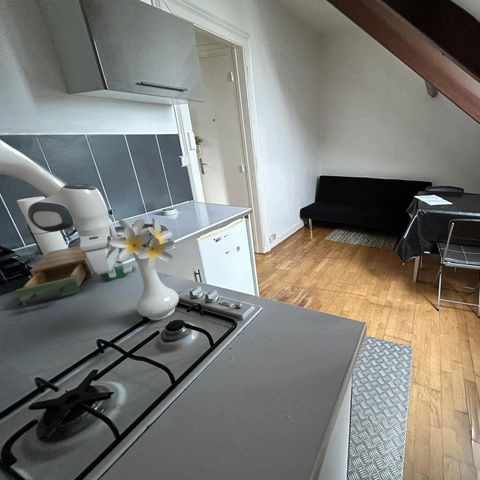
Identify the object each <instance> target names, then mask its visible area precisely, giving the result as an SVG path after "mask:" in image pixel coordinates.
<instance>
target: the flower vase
mask: <svg viewBox="0 0 480 480" xmlns="http://www.w3.org/2000/svg"><path fill="white" fill-rule="evenodd" d="M145 223H146V221H145V219H144V218H138V219H136V220H135V221H134V223H133V224H131V223H130V222H129V221H128V220H126V219H120V218H119V220H118V224H119V226H121V227H122V229H119V230H117V231H116V233H115V232H114V230H113V229H112V228H111V227H110V228H109V232H110V236H111V238H112V239H111V240H109V241H108V242H107V244H106V248H107V249H109V251H108V253H107V256H106V259H107V258H108V257H109V256H110V254H111V253H112V252H113V251H114V250H115V249H116V248H119V249H122V250H121V251H120V253H119V254H118V260H119V261H120V262H125V261H127V260H128V259H130V257H131V256H133V258H134V259H135V261H136V263H137V265H138V269H139V272H140V275H141V278H142V284H143V292H142V294H141V296H140V297H139V299H138V301H137V304H136V311H137V312H138V314H139V315H141V316H142V317H143V318H144V317H145V318H148V319H149V320H150V319H151V321H161V320H165V319H166V318H168V317H170V316H172V315H173V314H174V313H175V311H176V308H177V306H178V304H179V301H180V295H179V294H178V293H177V291H176V290H175V289H173V288H171V287H168V286H166V285H165V284H164V283H163V282H162V281H161V279H160V277H159V276H158V275H159V274H158V273H157V270H156V267H157V265H158V263H159V260H160V261H163V262H171V261H173V260H174V258H173V255H172V254H171V253H169V252H168V251H167V250H169V249H176V246H175V241H174V240H172V239H170V238H172V237H173V233H172V231H170V230H167V228H166V227H165V225H163V224H160V222H159V221H158V220H156V219H155V218H154V217H152V218H151V223H152V226H148V227H146V228H143V227H144V226H145ZM150 234H151V235H150Z"/></svg>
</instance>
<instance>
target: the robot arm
mask: <svg viewBox="0 0 480 480" xmlns="http://www.w3.org/2000/svg"><path fill="white" fill-rule="evenodd" d="M0 175H5V176H8V177H9V176H10V177H14V178H17V179H20V180H22V181H25V182H26V183H28V184H30V186H32V187H34V188H35V189H37V190H38V191H39V192H41V193H42V194H44V195H46V197H45V199H43V200H40V201H38V202H36V203H33V204H32V205H31V206H30V207H29V209H28V217H29V219H30V221H31V222H32V223H33V224H34V225H35V226H36V227H37V228H39V229H41V230H44V231H47V232H56V231H60V232H61V231H64V230H67V229H69V228H74V229H75V230H76V232H77V234H78V237H79V240H80V241H79V246H80V249H81V251H82V252H85V251H86V252H85V253H86V257H87V259H88V261H89V263H90V265H91V267H92V268H93V270H94V272H95V273H94V274H96V275H97V276H98V275H100V274H104V273H108V275H109V277H110V278H113V277H116V275H117V273H116V271H115V270H114V268H115V267H118V264H117V263H118V262H117V257H118V256H119V254H120V253H119V252H120V248H116V249H115V250H114V251H113V252H112V253H111V254H110V256H109V257H108V258H107V259H106V256H107V253H108V251H109V249H107V248H106V244H107V242H108V241H109V240H111V239H112V238H111V236H110V232H109V228H110V227H111V228H112V229H113V230H114V232H115V233H116V232H117V231H116V228H115V226H114V223H113V221H112V220H111V218H110V216H109V210H108V207H107V204H106V202H105V199H104V197H103V195H102V194H101V192H100V190H99V189H98V188H97V187H96V186H94V185H92V184H88V183H69V184H68V183H67V182H65V181H64V180H62V179H61V178H60V177H59V176H57V175H56V174H55V173H53V172H51V171H50V170H48V169H47V168H46V167H45V166H43V165H42V164H40V163H39V162H37V161H36V160H34V159H33V158H31V157H30V156H28V155H26V154H25V153H23V152H21V151H19V150H17V149H16V148H14V147H12V146H11V145H9V144H7V143H6V142H5V141H4V140H2V139H0Z"/></svg>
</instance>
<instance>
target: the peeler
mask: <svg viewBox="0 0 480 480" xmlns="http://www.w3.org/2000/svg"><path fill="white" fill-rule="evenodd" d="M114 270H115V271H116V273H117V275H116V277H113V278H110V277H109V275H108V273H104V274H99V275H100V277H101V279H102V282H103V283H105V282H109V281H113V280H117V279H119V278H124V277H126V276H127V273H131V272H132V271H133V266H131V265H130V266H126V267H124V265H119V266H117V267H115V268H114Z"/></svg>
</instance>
